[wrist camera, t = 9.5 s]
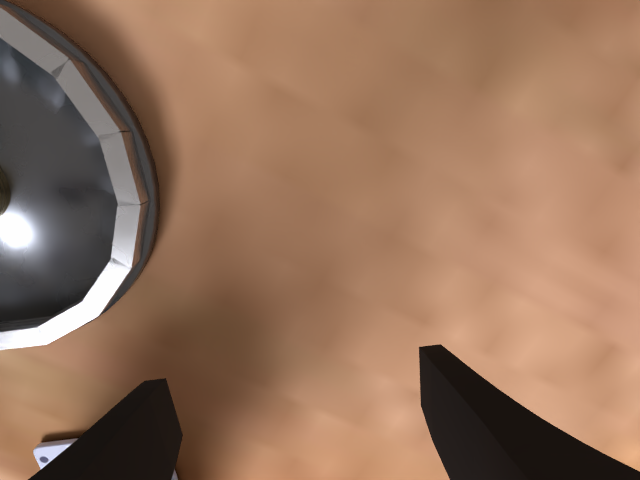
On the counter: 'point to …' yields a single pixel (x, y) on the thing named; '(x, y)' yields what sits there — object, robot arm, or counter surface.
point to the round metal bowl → (66, 185)
